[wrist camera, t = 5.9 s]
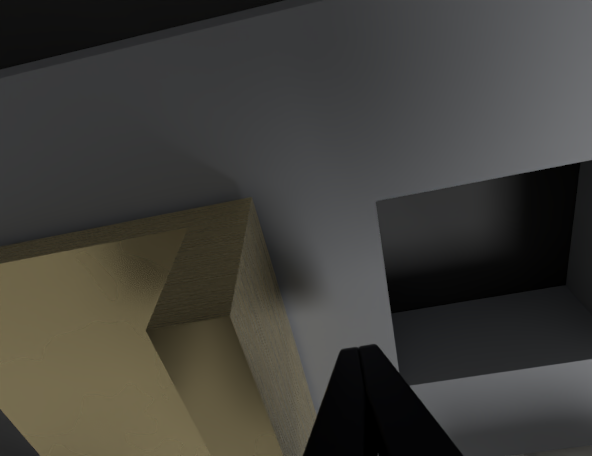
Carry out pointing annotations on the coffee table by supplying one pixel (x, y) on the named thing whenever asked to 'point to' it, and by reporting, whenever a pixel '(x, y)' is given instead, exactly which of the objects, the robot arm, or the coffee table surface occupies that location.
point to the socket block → (339, 176)
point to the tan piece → (152, 340)
